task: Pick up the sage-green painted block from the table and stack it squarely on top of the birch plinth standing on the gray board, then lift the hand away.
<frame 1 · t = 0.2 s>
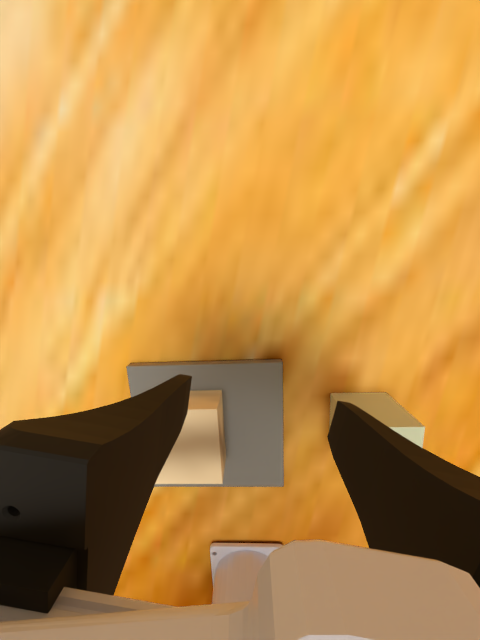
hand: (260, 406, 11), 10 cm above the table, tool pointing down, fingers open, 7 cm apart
sage block: (356, 416, 22), on the table
gray board: (209, 423, 23), on the table
birch plinth: (189, 419, 23), resting on gray board
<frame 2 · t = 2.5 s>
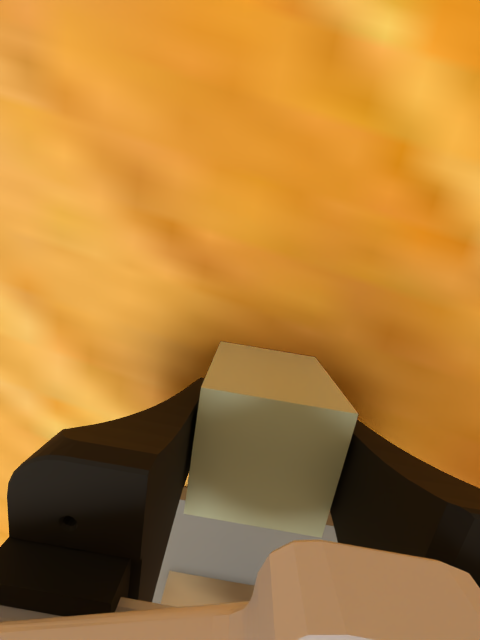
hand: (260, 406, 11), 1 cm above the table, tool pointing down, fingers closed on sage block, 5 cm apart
sage block: (259, 392, 13), on the table, touching gripper
gray board: (230, 582, 16), on the table
birch plinth: (218, 603, 16), resting on gray board
when the fingers open (6 cm above the table, at t = 6.2 s): sage block stays where it is, resting on birch plinth.
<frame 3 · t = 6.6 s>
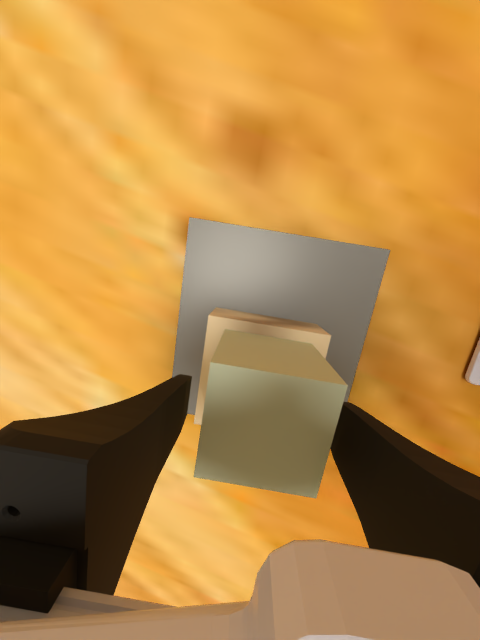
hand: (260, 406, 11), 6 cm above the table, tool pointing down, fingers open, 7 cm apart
sage block: (260, 376, 14), point 4 cm above the table, touching birch plinth
gray board: (268, 334, 17), on the table
birch plinth: (257, 358, 18), resting on gray board
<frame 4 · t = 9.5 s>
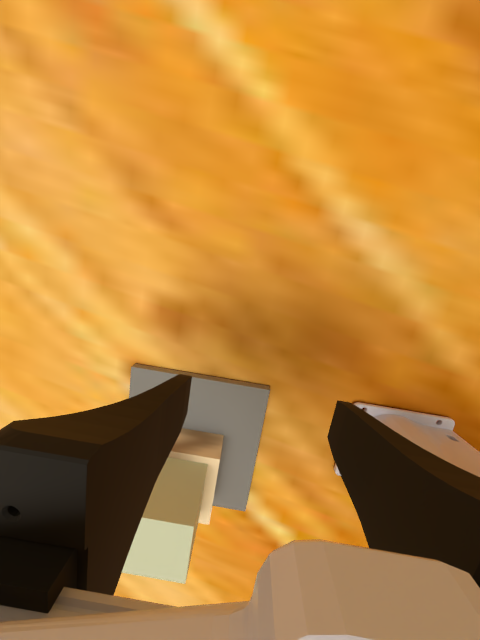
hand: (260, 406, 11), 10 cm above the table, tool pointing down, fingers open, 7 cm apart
sage block: (175, 483, 20), point 4 cm above the table, touching birch plinth
gray board: (193, 437, 24), on the table
birch plinth: (186, 453, 24), resting on gray board
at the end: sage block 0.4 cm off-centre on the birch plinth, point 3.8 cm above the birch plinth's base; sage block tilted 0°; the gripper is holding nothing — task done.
